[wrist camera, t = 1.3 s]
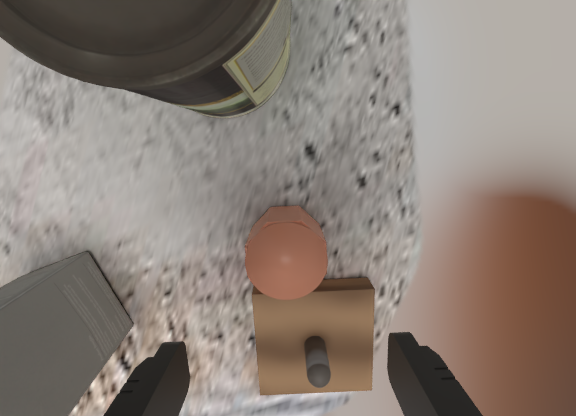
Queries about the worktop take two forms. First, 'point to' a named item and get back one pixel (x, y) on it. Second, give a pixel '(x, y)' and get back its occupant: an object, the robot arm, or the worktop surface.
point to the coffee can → (161, 47)
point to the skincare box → (56, 336)
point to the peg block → (316, 339)
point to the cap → (286, 253)
